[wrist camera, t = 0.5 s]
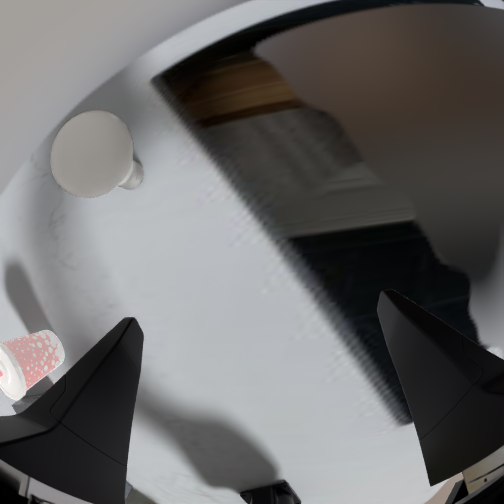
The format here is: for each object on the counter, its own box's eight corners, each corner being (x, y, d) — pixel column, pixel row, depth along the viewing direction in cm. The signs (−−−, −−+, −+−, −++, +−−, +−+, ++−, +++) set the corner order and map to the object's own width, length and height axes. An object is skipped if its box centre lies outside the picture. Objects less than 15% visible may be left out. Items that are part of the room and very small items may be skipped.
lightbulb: (171, 148, 23) (121, 91, 12) (156, 214, 24) (90, 194, 13) (115, 145, 23) (51, 100, 12) (100, 205, 24) (24, 187, 13)
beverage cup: (44, 313, 24) (-44, 343, 10) (76, 352, 24) (-7, 404, 10) (30, 342, 24) (-45, 377, 10) (59, 379, 24) (-11, 429, 10)
